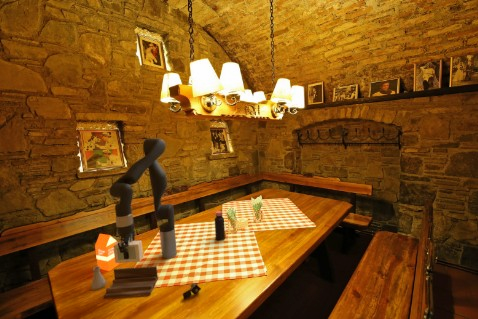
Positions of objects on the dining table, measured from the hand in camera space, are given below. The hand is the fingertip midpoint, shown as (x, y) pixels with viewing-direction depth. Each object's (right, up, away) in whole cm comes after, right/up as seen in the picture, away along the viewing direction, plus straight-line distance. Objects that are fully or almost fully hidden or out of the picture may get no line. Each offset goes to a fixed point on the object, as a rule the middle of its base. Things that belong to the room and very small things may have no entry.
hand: (128, 255), depth 114 cm
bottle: (+42, -9, +51) cm, 67 cm away
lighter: (+33, -17, -5) cm, 37 cm away
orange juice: (-23, -16, +23) cm, 37 cm away
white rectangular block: (0, -2, 0) cm, 2 cm away
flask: (-18, -18, +6) cm, 26 cm away
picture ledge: (+1, -17, +2) cm, 18 cm away
